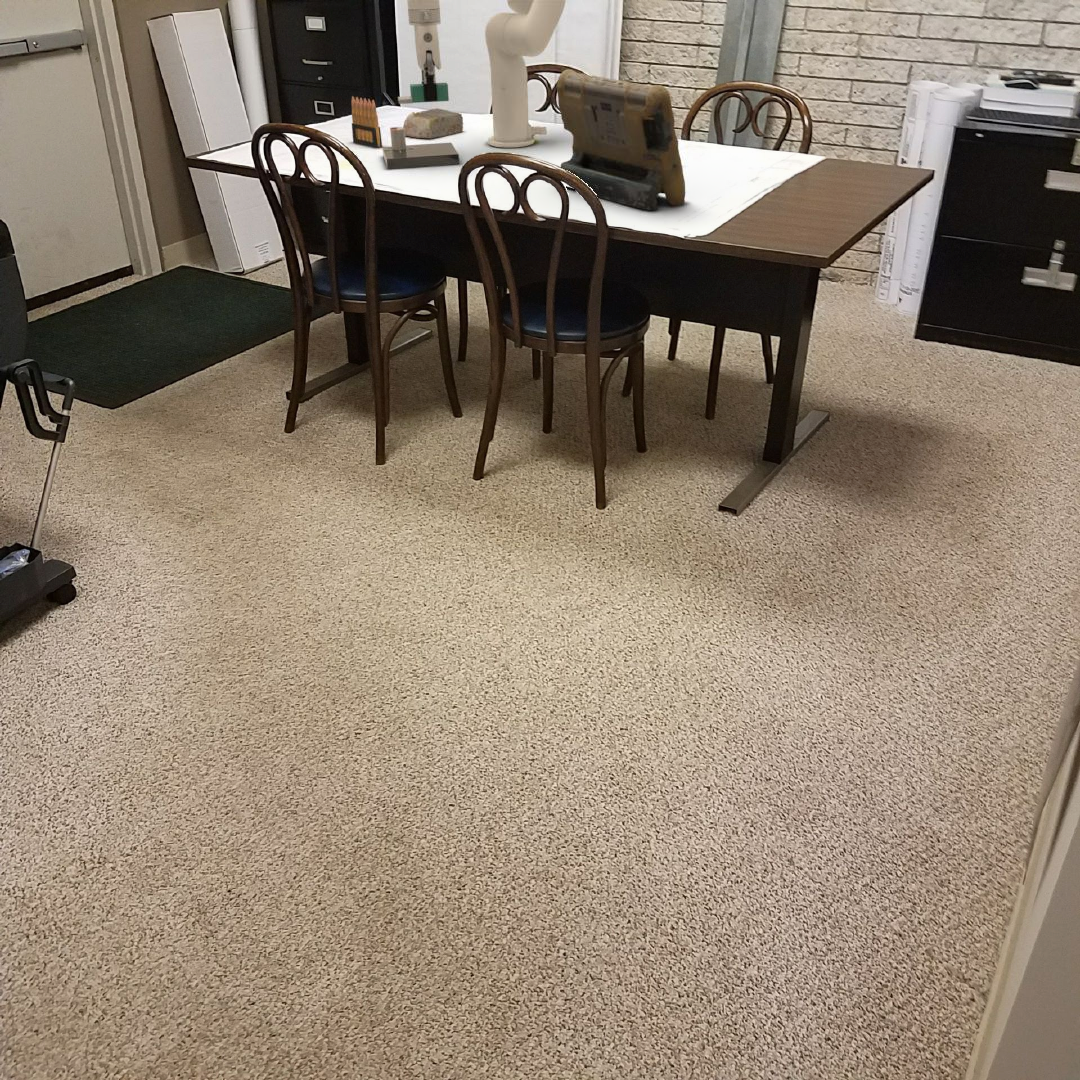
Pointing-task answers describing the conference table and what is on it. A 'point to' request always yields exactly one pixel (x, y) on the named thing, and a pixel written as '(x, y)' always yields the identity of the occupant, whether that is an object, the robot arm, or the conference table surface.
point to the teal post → (418, 94)
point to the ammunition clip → (365, 123)
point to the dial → (398, 138)
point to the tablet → (622, 139)
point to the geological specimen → (433, 123)
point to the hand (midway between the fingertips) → (430, 98)
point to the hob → (421, 156)
